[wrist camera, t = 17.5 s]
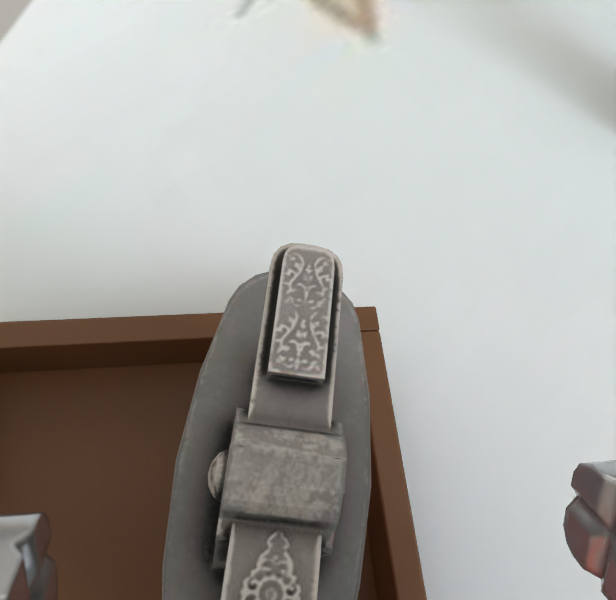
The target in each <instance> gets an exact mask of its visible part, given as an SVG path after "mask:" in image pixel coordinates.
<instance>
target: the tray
mask: <svg viewBox="0 0 616 600" xmlns="http://www.w3.org/2000/svg"><path fill="white" fill-rule="evenodd" d="M354 309H355V311H356V314H357V317H358V319H359V325H360V332H361V339H362V346H363V353H364V360H365V367H366V375H367V382H368V389H369V398H370V447H371V492H370V501H369V509H368V518H367V527H366V535H365V544H364V553H363V562H362V570H361V579H360V587H359V592H358V596H357V600H427V598H426V592H425V587H424V581H423V575H422V570H421V564H420V558H419V553H418V547H417V541H416V536H415V530H414V524H413V519H412V513H411V507H410V502H409V496H408V490H407V485H406V479H405V473H404V468H403V462H402V456H401V451H400V445H399V439H398V434H397V428H396V422H395V417H394V411H393V405H392V400H391V394H390V388H389V383H388V377H387V371H386V366H385V360H384V354H383V349H382V343H381V337H380V333H379V324H378V318H377V313H376V308H375V307H354ZM223 314H224V313H208V314H184V315H160V316H136V317H112V318H88V319H64V320H40V321H16V322H0V514H13V513H28V512H42V511H43V512H45V513H46V514H47V515H48V518H49V524H50V529H51V534H52V536H51V539H50V542H49V545H48V548H47V551H46V553H47V554H48V555H49V556H50V557H51V558H52V559H54V560H55V561H56V568H57V575H58V596H57V600H162V579H163V558H164V550H165V542H166V534H167V527H168V519H169V511H170V503H171V495H172V487H173V479H174V471H175V463H176V458H177V454H178V451H179V447H180V443H181V439H182V436H183V432H184V428H185V425H186V421H187V417H188V414H189V410H190V406H191V403H192V399H193V395H194V391H195V388H196V384H197V380H198V377H199V373H200V370H201V368H202V365H203V363H204V360H205V358H206V355H207V353H208V351H209V348H210V346H211V343H212V341H213V338H214V336H215V333H216V331H217V329H218V326H219V324H220V321H221V319H222V316H223Z"/></svg>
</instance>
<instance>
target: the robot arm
mask: <svg viewBox="0 0 616 600" xmlns="http://www.w3.org/2000/svg"><path fill="white" fill-rule="evenodd" d="M571 486H572V488H573V490H574V491H575V493H576V495H577V496H576V497H575V498H574V500H573V501H572V502H571V503H570V504H569V505H568V506H567V508H566V511H565V518H564V524H563V526H564V531H565V537H566V542H567V544H568V547H569V549H570V551H571V553H572V555H573V557H574V558H575V559H576V560H577V562H578V563H579V564H580V566H581V567H582V568H583V569H584V570H586V571H588V572H590V573H591V574H593V575H595V576H597V577H599V578H600V579H601V592H602V593H603V594H604V596H605V597H606V598H607V599H608V600H616V460H611V461H601V462H591V463H580V464H579V465H578V467H577V468H576V469H575V471H574V473H573V477H572V482H571ZM51 536H52V534H51V529H50V524H49V518H48V515H47V514H46V513H45V512H43V511H42V512H28V513H13V514H0V600H57V596H58V575H57V568H56V561H55V560H54V559H52V558H51V557H50V556H49V555H48V554H47V553H46V551H47V548H48V545H49V542H50V539H51Z"/></svg>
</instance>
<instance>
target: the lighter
mask: <svg viewBox="0 0 616 600" xmlns="http://www.w3.org/2000/svg"><path fill="white" fill-rule="evenodd" d="M342 283H343V270H342V264H341V262H340V260H339V258H338V256H337V255H335V254H334V253H333V252H331V251H330V250H329V249H325V248H322V247H318V246H314V245H308V244H294V243H290V244H287V245H284V246H281V247H280V248H279V249H278V250H277V251H276V252H275V253H274V255H273V258H272V261H271V265H270V270H269V272H266V273H262V274H258V275H255V276H254V277H252V278H251V279H249V280H248V281H246V282H245V283H243V284H242V285H240V286H239V287H238V289H237V290H236V291H235V293H234V294H233V296H232V297H231V298H230V300H229V302H228V304H227V307H226V309H225V311H224V314H223V316H222V319H221V321H220V324H219V326H218V329H217V331H216V333H215V336H214V338H213V341H212V343H211V346H210V348H209V351H208V353H207V355H206V358H205V360H204V363H203V365H202V368H201V370H200V373H199V377H198V380H197V384H196V388H195V391H194V395H193V399H192V403H191V406H190V410H189V414H188V417H187V421H186V425H185V428H184V432H183V436H182V439H181V443H180V447H179V451H178V454H177V458H176V463H175V471H174V479H173V487H172V495H171V503H170V511H169V519H168V527H167V534H166V542H165V550H164V558H163V579H162V600H357V596H358V592H359V587H360V579H361V570H362V562H363V553H364V544H365V535H366V527H367V518H368V509H369V501H370V492H371V447H370V398H369V389H368V382H367V375H366V367H365V360H364V353H363V346H362V339H361V332H360V325H359V319H358V317H357V314H356V311H355V309H354V306H353V303H352V302H351V301H350V300H349V299H348V297H347V296H346V295H345V294H344V293H343V292H342Z"/></svg>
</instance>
